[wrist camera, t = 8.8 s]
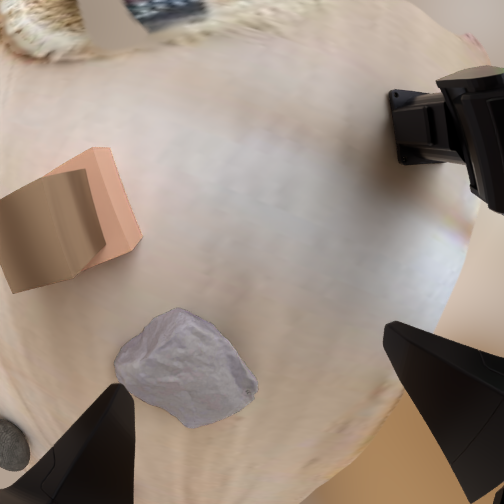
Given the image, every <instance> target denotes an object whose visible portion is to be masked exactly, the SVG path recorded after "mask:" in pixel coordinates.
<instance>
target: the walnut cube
mask: <svg viewBox="0 0 504 504" xmlns="http://www.w3.org/2000/svg"><path fill="white" fill-rule="evenodd" d="M105 245H106V242H105V239H104V236H103V232H102V229H101V226H100V223H99V219H98V216H97V213H96V209H95V205H94V202H93V198H92V194H91V190H90V186H89V182H88V178H87V173H86V169H79V170H74V171H69V172H64V173H59V174H54V175H50V176H45V177H41V178H39V179H37V180H35V181H33V182H31V183H29V184H27V185H26V186H24V187H22V188H20V189H18V190H16V191H14V192H13V193H11V194H9V195H7V196H6V197H4V198H2V199H0V265H1V267H2V270H3V272H4V275H5V277H6V280H7V282H8V284H9V287H10V289H11V291H12V293H13V294H14V293H18V292H22V291H26V290H30V289H34V288H37V287H41V286H45V285H49V284H53V283H57V282H61V281H65V280H69V279H73V278H74V277H75V276H76V275H77V274H78V273H79V272H80V271H81V270H82V269H83V268H84V267H85V266H86V265H87V263H88V262H89V261H90V260H91V259H92V258H93V257H94V256H95V255H96V254H97V253H98V252H99V251H100V250H101V249H102V248H103V247H104V246H105Z"/></svg>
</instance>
